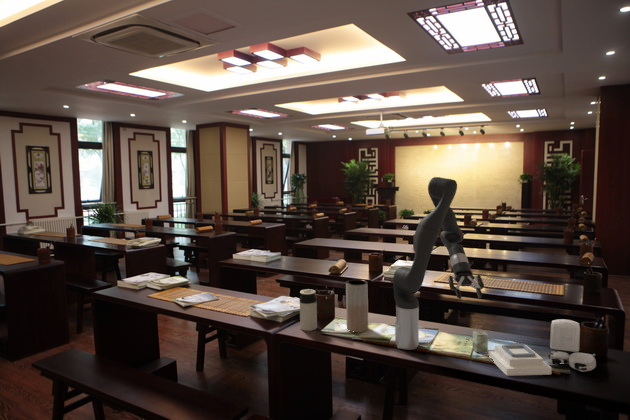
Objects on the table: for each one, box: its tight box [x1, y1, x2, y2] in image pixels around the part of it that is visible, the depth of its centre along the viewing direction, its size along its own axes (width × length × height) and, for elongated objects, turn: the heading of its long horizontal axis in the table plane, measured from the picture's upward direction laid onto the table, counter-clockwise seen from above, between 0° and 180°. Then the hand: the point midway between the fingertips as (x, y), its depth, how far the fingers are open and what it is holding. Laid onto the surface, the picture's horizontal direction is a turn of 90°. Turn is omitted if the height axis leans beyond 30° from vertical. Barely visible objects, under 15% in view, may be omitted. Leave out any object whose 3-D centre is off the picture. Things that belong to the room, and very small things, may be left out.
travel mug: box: [299, 288, 318, 332], centre depth 197 cm, size 8×8×18 cm
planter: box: [345, 278, 369, 333], centre depth 194 cm, size 10×10×23 cm
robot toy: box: [546, 350, 597, 373], centre depth 154 cm, size 12×4×15 cm
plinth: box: [487, 343, 552, 377], centre depth 155 cm, size 16×16×6 cm
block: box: [472, 330, 489, 353], centre depth 168 cm, size 4×4×8 cm
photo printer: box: [549, 318, 581, 353], centre depth 167 cm, size 10×4×12 cm, turn 72°
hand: (470, 297), depth 178 cm, fingers open, 8 cm apart
